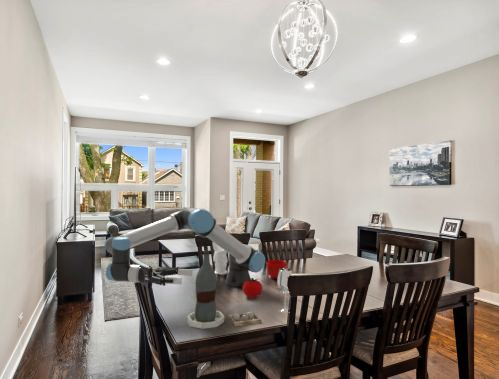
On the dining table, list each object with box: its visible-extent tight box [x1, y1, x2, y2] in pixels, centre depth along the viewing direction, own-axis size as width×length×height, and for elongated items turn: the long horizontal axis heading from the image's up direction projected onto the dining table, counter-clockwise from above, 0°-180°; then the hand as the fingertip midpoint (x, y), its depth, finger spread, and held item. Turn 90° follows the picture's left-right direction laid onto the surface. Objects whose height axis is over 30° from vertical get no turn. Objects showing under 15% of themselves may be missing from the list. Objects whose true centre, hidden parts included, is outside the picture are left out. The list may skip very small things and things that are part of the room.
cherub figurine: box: [212, 241, 229, 276], centre depth 224 cm, size 12×12×22 cm
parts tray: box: [227, 311, 262, 327], centre depth 146 cm, size 12×9×2 cm
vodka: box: [194, 250, 218, 323], centre depth 145 cm, size 9×9×30 cm
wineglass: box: [276, 267, 293, 313], centre depth 159 cm, size 8×8×20 cm
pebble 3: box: [246, 311, 254, 319], centre depth 148 cm, size 3×3×3 cm
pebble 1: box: [233, 312, 240, 321], centre depth 146 cm, size 3×3×3 cm
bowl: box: [186, 310, 225, 330], centre depth 145 cm, size 15×15×3 cm
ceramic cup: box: [265, 259, 289, 280], centre depth 216 cm, size 13×17×10 cm
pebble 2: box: [241, 315, 248, 321], centre depth 145 cm, size 3×3×3 cm
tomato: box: [242, 277, 263, 299], centre depth 179 cm, size 10×10×10 cm
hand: (186, 276), depth 147 cm, fingers open, 13 cm apart
